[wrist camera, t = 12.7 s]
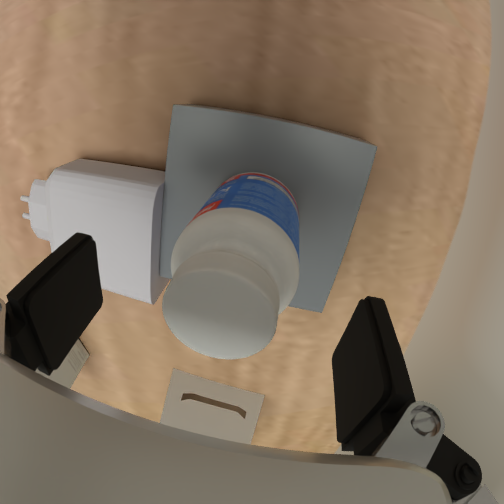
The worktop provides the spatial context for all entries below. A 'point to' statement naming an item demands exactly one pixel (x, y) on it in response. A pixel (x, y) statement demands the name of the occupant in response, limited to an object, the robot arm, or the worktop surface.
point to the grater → (210, 408)
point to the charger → (106, 220)
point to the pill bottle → (235, 268)
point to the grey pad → (278, 166)
